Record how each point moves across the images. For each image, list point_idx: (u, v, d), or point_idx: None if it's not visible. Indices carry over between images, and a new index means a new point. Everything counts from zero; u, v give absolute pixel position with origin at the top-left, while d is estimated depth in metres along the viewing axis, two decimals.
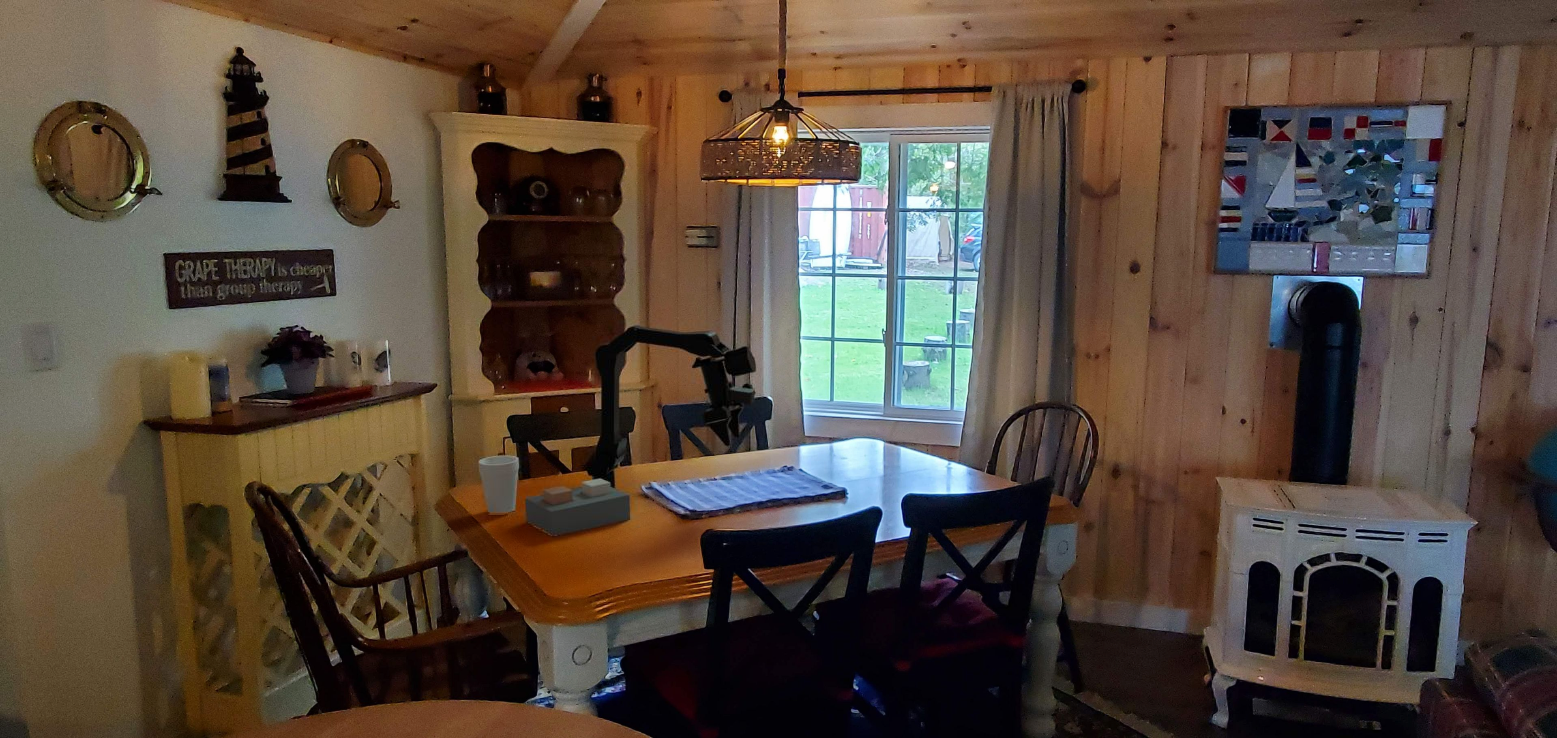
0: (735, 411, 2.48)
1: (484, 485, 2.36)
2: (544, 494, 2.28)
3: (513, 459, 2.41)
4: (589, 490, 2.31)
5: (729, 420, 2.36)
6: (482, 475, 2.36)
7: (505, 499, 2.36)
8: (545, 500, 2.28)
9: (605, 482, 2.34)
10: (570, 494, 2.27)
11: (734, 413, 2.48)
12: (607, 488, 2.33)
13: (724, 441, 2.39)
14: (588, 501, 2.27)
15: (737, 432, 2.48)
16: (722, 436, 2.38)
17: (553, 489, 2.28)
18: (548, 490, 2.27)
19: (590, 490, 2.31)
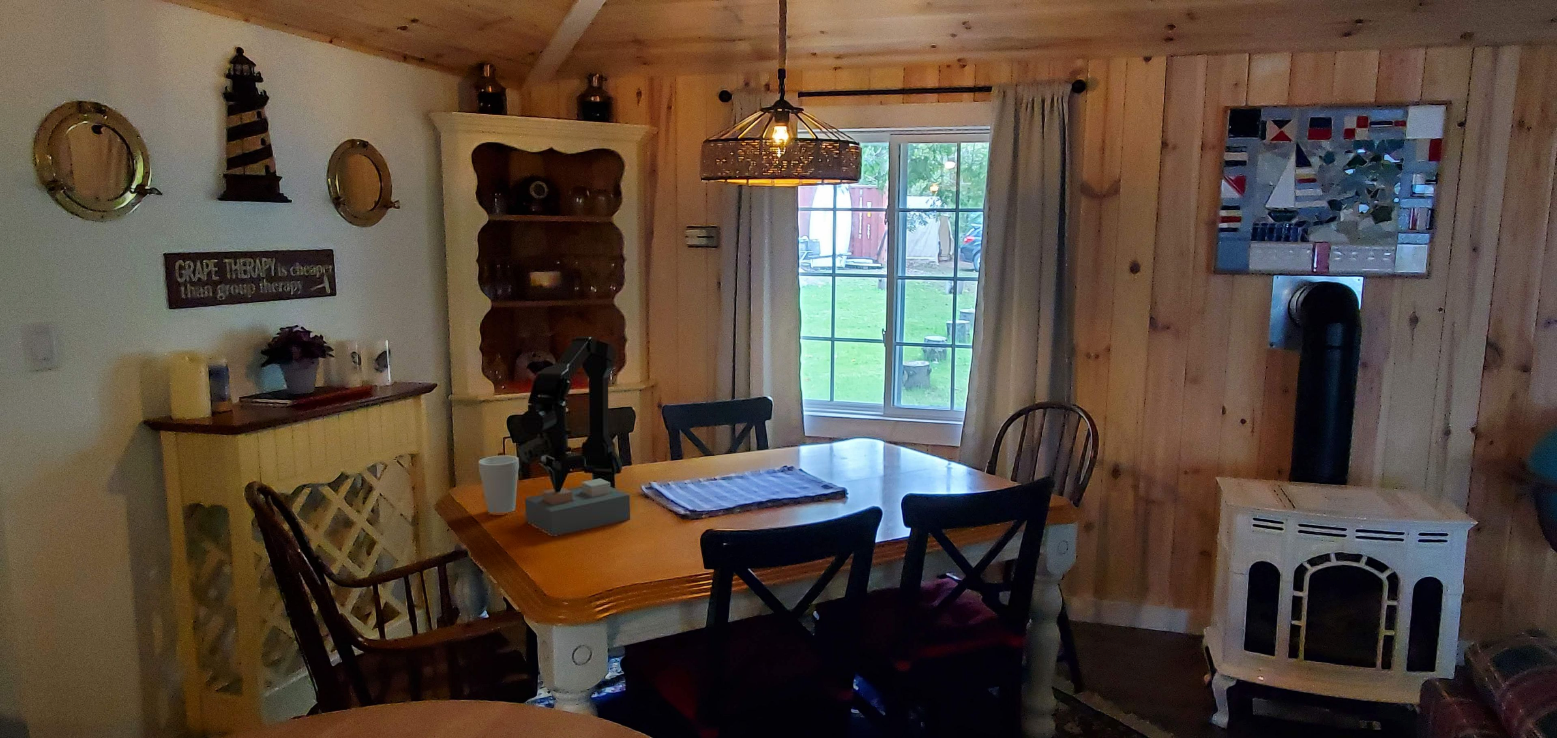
0: None
1: (484, 485, 2.36)
2: (544, 495, 2.28)
3: (513, 459, 2.41)
4: (589, 490, 2.31)
5: (542, 465, 2.27)
6: (482, 475, 2.36)
7: (505, 499, 2.36)
8: (545, 501, 2.28)
9: (605, 482, 2.34)
10: (570, 495, 2.27)
11: None
12: (607, 488, 2.33)
13: None
14: (588, 501, 2.27)
15: None
16: None
17: (553, 490, 2.28)
18: (548, 491, 2.27)
19: (590, 490, 2.31)
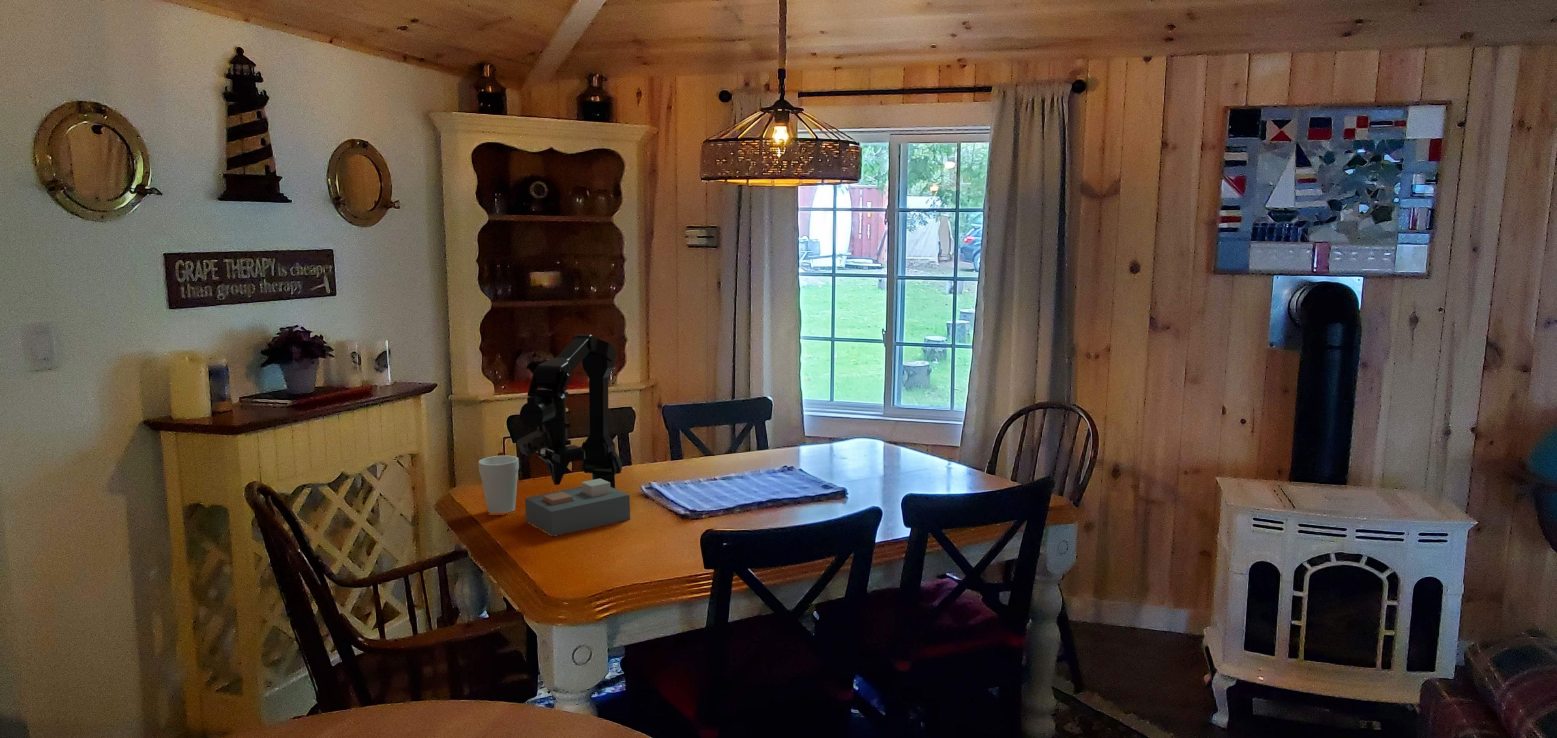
0: None
1: (484, 485, 2.36)
2: (544, 500, 2.28)
3: (513, 459, 2.41)
4: (589, 490, 2.31)
5: (541, 458, 2.26)
6: (482, 475, 2.36)
7: (505, 499, 2.36)
8: None
9: (605, 482, 2.34)
10: (570, 500, 2.27)
11: None
12: (607, 488, 2.33)
13: None
14: (588, 501, 2.27)
15: None
16: None
17: (553, 495, 2.28)
18: (548, 496, 2.28)
19: (590, 490, 2.31)
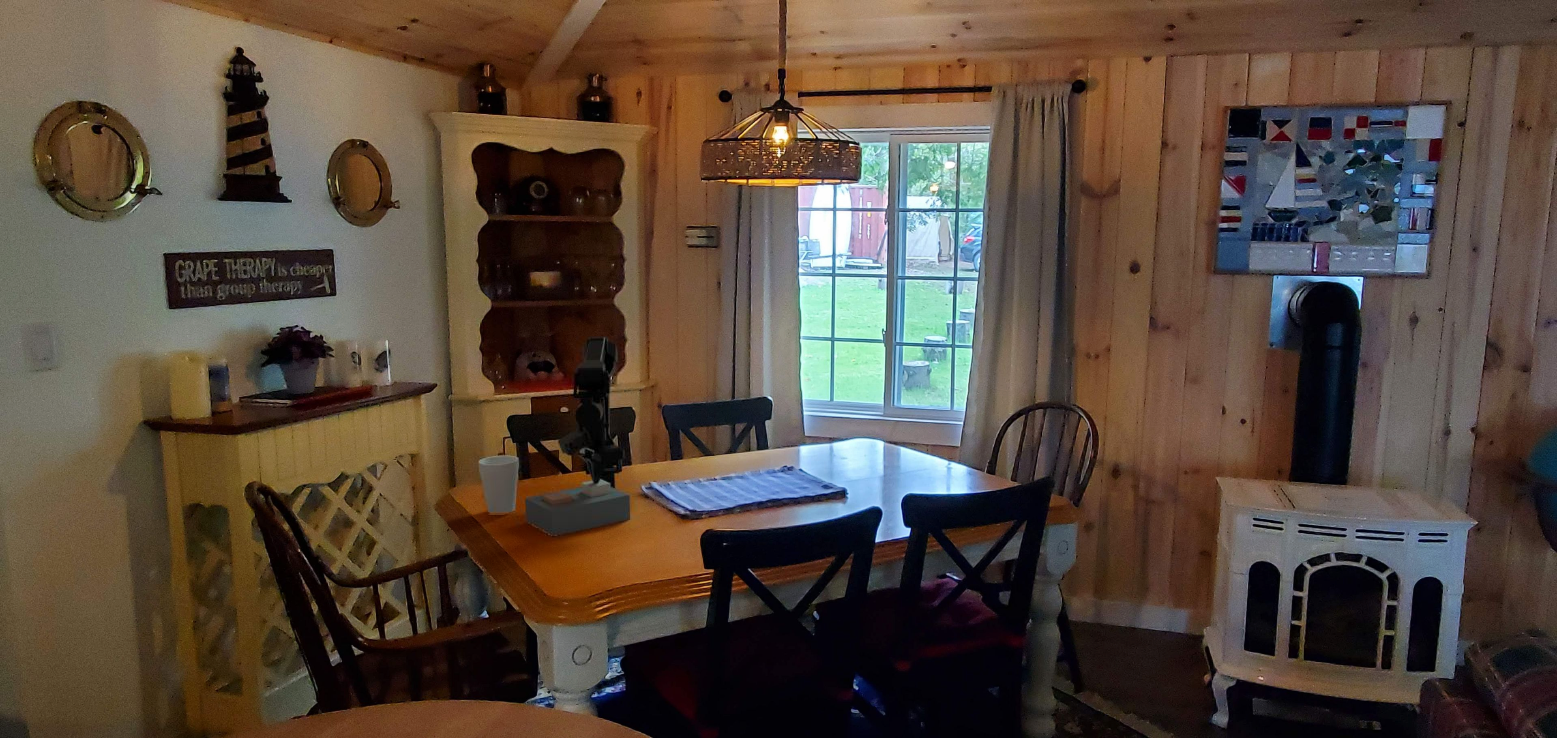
0: None
1: (484, 485, 2.36)
2: (544, 500, 2.28)
3: (513, 459, 2.41)
4: (589, 491, 2.31)
5: (581, 457, 2.33)
6: (482, 475, 2.36)
7: (505, 499, 2.36)
8: None
9: (605, 483, 2.34)
10: (570, 500, 2.27)
11: None
12: (607, 489, 2.33)
13: None
14: (588, 501, 2.27)
15: None
16: None
17: (553, 495, 2.28)
18: (548, 496, 2.28)
19: (590, 491, 2.31)
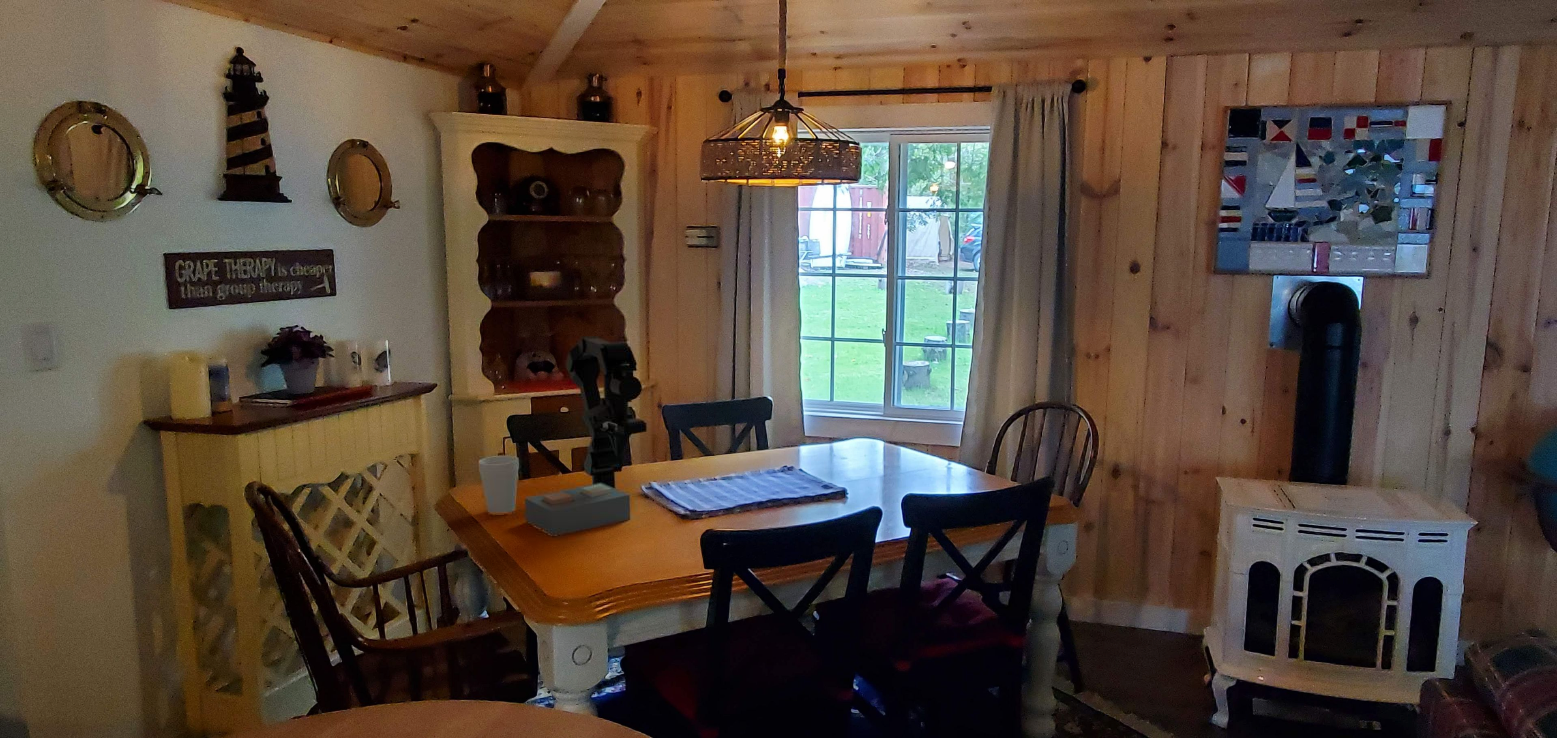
0: None
1: (484, 485, 2.36)
2: (544, 500, 2.28)
3: (513, 459, 2.41)
4: (589, 496, 2.32)
5: (604, 431, 2.39)
6: (482, 475, 2.36)
7: (505, 499, 2.36)
8: None
9: (605, 488, 2.34)
10: (570, 500, 2.27)
11: None
12: None
13: None
14: (588, 501, 2.27)
15: None
16: None
17: (553, 495, 2.28)
18: (548, 496, 2.28)
19: (590, 496, 2.31)
